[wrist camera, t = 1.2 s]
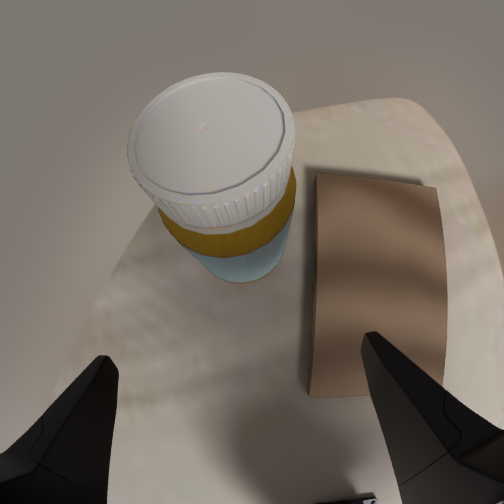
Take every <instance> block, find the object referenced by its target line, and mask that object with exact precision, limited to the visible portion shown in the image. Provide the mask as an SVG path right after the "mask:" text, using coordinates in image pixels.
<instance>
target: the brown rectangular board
mask: <svg viewBox="0 0 504 504" xmlns="http://www.w3.org/2000/svg"><path fill="white" fill-rule="evenodd" d="M314 193H315V261H314V296H313V318H312V336H311V351H310V365H309V377H308V388H307V393H308V395H309V397H344V396H362V395H370V392H369V388H368V383H367V378H366V374H365V369H364V365H363V361H362V356H361V345H362V341H363V336H364V334H365V333H366V332H371V331H377V332H378V333H380V334H381V335H382V336H383V337H384V338H386V339H387V340H388V341H389V342H390V343H391V344H393V345H394V346H395V347H396V348H397V349H399V350H400V351H401V352H402V353H403V354H405V355H406V356H407V357H408V358H409V359H411V360H412V361H413V362H414V363H415V364H416V365H418V366H419V367H420V368H421V369H422V370H423V371H425V372H426V373H427V374H428V375H429V376H431V377H432V378H433V379H434V380H435V381H436V382H438V383H439V384H440V385H441V386H442V384H443V376H444V367H445V356H446V341H447V272H446V257H445V246H444V236H443V228H442V221H441V214H440V207H439V201H438V195H437V190H436V188H433V187H427V186H421V185H415V184H408V183H402V182H395V181H387V180H380V179H372V178H363V177H354V176H345V175H334V174H323V173H317V174H316V177H315V180H314Z"/></svg>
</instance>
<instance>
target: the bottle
mask: <svg viewBox="0 0 504 504" xmlns="http://www.w3.org/2000/svg"><path fill="white" fill-rule="evenodd" d="M294 143H295V124H294V122H293V116H292V113H291V111H290V108H289V106H288V105H287V103H286V101H285V100H284V98H283V97H282V96H281V95H280V94H279V93H278V92H277V91H276V90H275V89H274V88H272V87H271V86H269V85H268V84H266V83H264V82H263V81H261V80H258V79H256V78H253V77H250V76H247V75H242V74H237V73H225V72H223V73H221V72H220V73H209V74H202V75H198V76H194V77H191V78H188V79H185V80H183V81H180V82H178V83H176V84H174V85H172V86H170V87H168V88H167V89H165V90H164V91H162V92H161V93H159V94H158V95H157V96H156V97H155V98H153V99H152V100H151V101H150V102H149V103H148V104H147V105H146V106H145V107H144V109H143V110H142V111H141V113H140V114H139V115H138V117H137V119H136V120H135V122H134V124H133V126H132V129H131V131H130V134H129V138H128V144H127V156H128V162H129V165H130V168H131V172H132V173H133V174H134V175H133V177H134V179H135V180H136V181H137V183H138V185H139V186H140V187H141V188H142V189H143V190H144V191H145V192H146V194H147V195H148V196H149V197H150V198H151V199H152V201H153V202H154V203H155V204H156V205H157V206H158V211H159V213H160V216H161V218H162V221H163V223H164V225H165V226H166V228H167V229H168V230H169V232H170V233H171V234H172V235H173V236H174V237H175V238H176V240H177V241H178V242H179V243H180V244H181V245H182V246H183V247H184V248H186V249H187V250H188V251H189V252H190V253H191V254H192V255H193V256H194V257H195V258H196V259H197V260H198V261H199V262H201V263H202V264H203V265H204V266H205V267H206V268H207V269H208V270H209V271H210V272H211V273H213V274H214V275H215V276H217V277H219V278H221V279H223V280H225V281H228V282H233V283H248V282H254V281H257V280H259V279H261V278H262V277H264V276H266V275H268V274H269V273H270V272H271V271H272V270H273V269H274V268H275V267H276V266H277V264H278V263H279V261H280V258H281V256H282V254H283V252H284V249H285V244H286V240H287V235H288V231H289V227H290V222H291V218H292V213H293V209H294V203H295V194H296V179H295V175H294V171H293V168H292V158H293V151H294Z"/></svg>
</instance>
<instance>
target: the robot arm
mask: <svg viewBox="0 0 504 504" xmlns="http://www.w3.org/2000/svg"><path fill="white" fill-rule="evenodd" d="M361 356H362V361H363V365H364V369H365V374H366V378H367V383H368V388H369V392H370V395H371V398H372V401H373V404H374V407H375V410H376V413H377V416H378V419H379V422H380V426H381V429H382V432H383V435H384V438H385V442H386V445H387V448H388V452H389V455H390V459H391V462H392V466H393V469H394V473H395V476H396V480H397V484H398V488H399V492H400V496H401V500H402V504H504V430H502V429H500V428H498V427H496V426H494V425H493V424H491V423H490V422H488V421H487V420H485V419H484V418H482V417H481V416H479V415H478V414H477V413H475V412H474V411H472V410H471V409H469V408H468V407H467V406H465V405H464V404H463V403H461V402H460V401H459V400H458V399H456V398H455V397H454V396H453V395H452V394H450V393H449V392H448V391H447V390H445V388H443V387H442V386H441V385H440V384H439V383H438V382H436V381H435V380H434V379H433V378H432V377H431V376H429V375H428V374H427V373H426V372H425V371H423V370H422V369H421V368H420V367H419V366H418V365H416V364H415V363H414V362H413V361H412V360H411V359H409V358H408V357H407V356H406V355H405V354H403V353H402V352H401V351H400V350H399V349H397V348H396V347H395V346H394V345H393V344H391V343H390V342H389V341H388V340H387V339H386V338H384V337H383V336H382V335H381V334H380V333H378V332H377V331H371V332H366V333H365V334H364V336H363V341H362V345H361ZM118 379H119V372H118V369H117V367H116V366H115V364H114V363H113V361H112V360H111V358H110V357H109V356H107V355H99V356H97V357H96V358H95V359H94V360H93V361H92V362H91V363H90V365H89V366H88V367H87V368H86V369H85V370H84V371H83V372H82V373H81V374H80V375H79V376H78V377H77V378H76V379H75V380H74V381H73V382H72V383H71V384H70V385H69V386H68V388H67V389H66V390H65V391H64V392H63V393H62V394H61V395H60V396H59V397H58V398H57V399H56V400H55V401H54V403H53V404H52V405H51V406H50V407H49V408H48V409H47V410H46V411H45V412H44V414H43V415H42V416H41V417H40V418H39V419H38V420H37V421H36V422H35V423H34V424H33V425H32V426H31V427H30V428H29V429H28V431H26V432H25V433H24V434H23V435H22V436H21V437H20V438H19V439H18V440H17V441H16V442H15V443H14V444H13V445H11V446H10V447H9V448H8V449H7V450H6V451H5V452H3V453H1V454H0V504H107V491H108V477H109V465H110V455H111V446H112V438H113V430H114V423H115V417H116V409H117V394H118ZM372 501H373V502H372ZM377 502H378V500H377V498H376V497H369V498H363V499H356V500H348V501H340V502H330V503H317V504H377Z"/></svg>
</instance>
